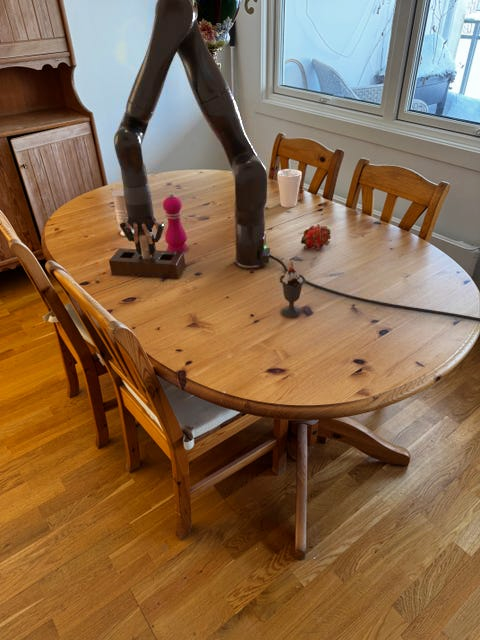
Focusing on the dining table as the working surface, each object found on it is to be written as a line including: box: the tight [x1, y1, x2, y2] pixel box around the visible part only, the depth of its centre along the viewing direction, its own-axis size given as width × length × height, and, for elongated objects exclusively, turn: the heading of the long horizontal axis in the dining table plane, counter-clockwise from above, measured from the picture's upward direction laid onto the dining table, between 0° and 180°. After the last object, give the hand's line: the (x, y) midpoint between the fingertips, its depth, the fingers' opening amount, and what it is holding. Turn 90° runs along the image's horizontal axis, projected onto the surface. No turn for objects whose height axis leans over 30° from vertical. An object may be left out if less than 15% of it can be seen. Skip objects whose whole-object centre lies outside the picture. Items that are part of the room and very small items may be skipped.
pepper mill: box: [162, 192, 188, 253], centre depth 152 cm, size 7×7×20 cm
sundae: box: [279, 258, 307, 318], centre depth 120 cm, size 7×7×15 cm
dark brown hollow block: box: [108, 247, 186, 280], centre depth 145 cm, size 21×9×5 cm, turn 81°
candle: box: [111, 188, 134, 237], centre depth 166 cm, size 7×7×15 cm
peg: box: [138, 232, 152, 259], centre depth 141 cm, size 3×3×11 cm
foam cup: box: [277, 168, 303, 208], centre depth 186 cm, size 10×9×13 cm
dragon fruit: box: [300, 223, 332, 251], centre depth 154 cm, size 8×8×12 cm
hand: (146, 253), depth 143 cm, fingers open, 3 cm apart
